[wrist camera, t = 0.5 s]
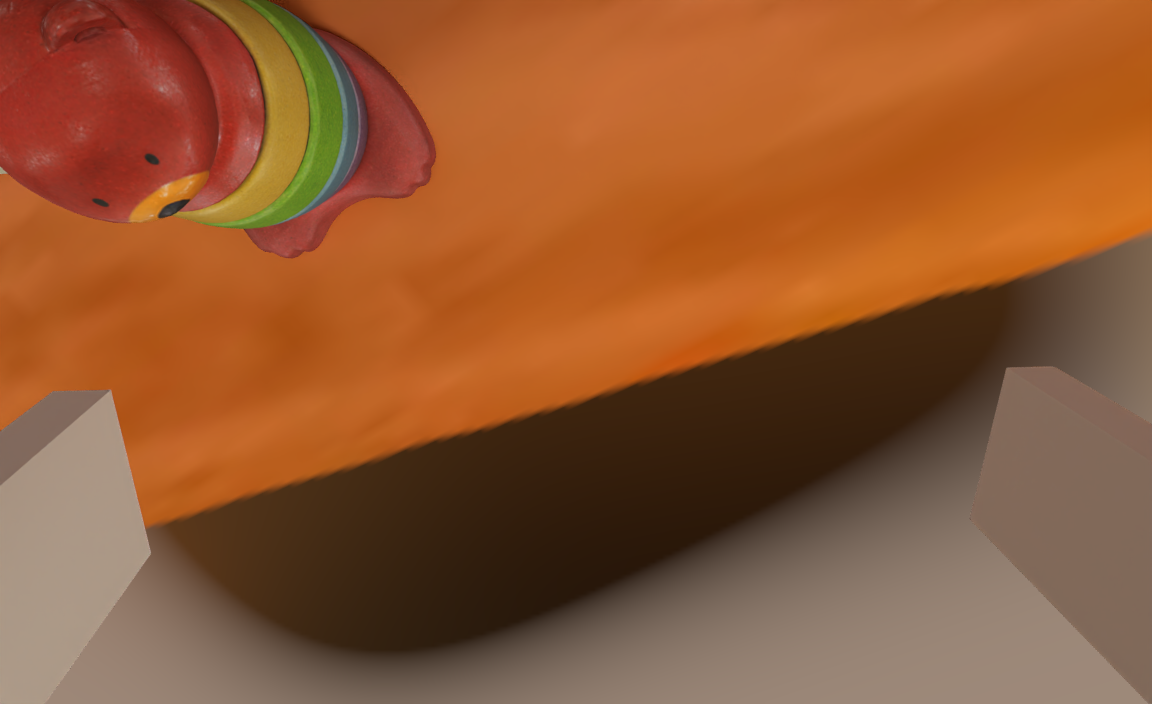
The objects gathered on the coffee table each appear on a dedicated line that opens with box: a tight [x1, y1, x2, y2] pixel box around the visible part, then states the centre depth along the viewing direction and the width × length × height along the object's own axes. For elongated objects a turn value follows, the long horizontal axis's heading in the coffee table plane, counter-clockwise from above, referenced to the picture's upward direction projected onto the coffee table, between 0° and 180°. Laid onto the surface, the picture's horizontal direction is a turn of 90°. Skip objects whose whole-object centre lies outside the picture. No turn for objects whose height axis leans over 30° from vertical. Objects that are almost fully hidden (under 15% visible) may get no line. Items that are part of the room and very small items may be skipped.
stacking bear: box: [0, 0, 436, 258], centre depth 29 cm, size 11×10×18 cm
